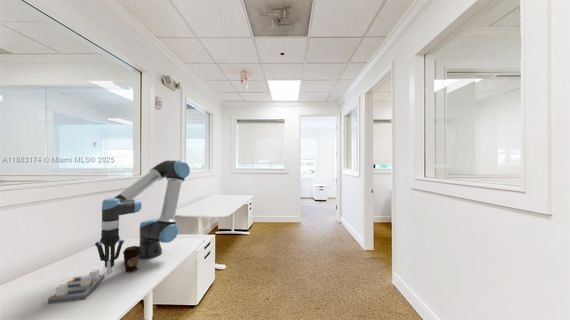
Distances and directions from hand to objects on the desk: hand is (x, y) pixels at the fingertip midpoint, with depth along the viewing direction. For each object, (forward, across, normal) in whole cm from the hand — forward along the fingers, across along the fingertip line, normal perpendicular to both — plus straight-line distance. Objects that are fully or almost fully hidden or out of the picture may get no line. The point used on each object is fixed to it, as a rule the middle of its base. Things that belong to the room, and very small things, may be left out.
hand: (109, 273), depth 130 cm
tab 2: (+3, +8, +7) cm, 11 cm away
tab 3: (+3, +7, 0) cm, 7 cm away
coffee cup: (+4, -8, -10) cm, 13 cm away
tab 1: (+3, +14, +14) cm, 20 cm away
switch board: (+4, +10, +7) cm, 13 cm away
